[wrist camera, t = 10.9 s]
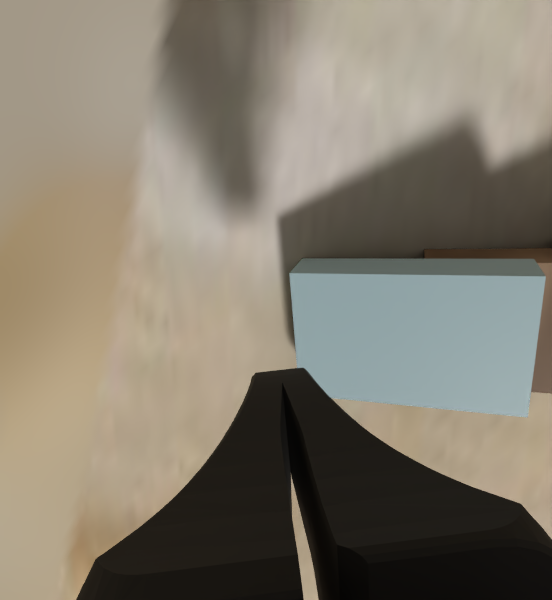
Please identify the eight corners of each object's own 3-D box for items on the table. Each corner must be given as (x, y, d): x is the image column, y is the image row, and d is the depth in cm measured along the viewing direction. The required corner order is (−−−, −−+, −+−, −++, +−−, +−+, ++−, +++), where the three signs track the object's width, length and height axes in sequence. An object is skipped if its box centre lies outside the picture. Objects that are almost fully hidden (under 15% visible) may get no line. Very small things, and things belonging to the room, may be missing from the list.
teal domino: (302, 258, 16) (534, 258, 13) (310, 371, 17) (518, 388, 15) (289, 273, 14) (546, 276, 12) (299, 394, 16) (527, 417, 14)
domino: (424, 249, 16) (668, 247, 14) (420, 361, 17) (638, 374, 15) (425, 263, 14) (697, 263, 12) (421, 384, 16) (661, 401, 14)
